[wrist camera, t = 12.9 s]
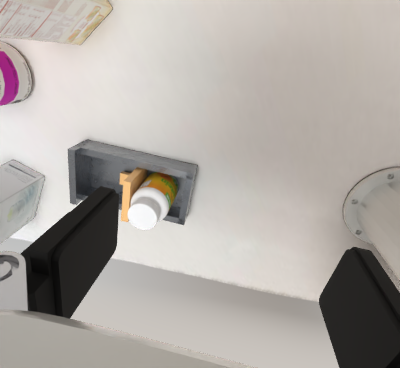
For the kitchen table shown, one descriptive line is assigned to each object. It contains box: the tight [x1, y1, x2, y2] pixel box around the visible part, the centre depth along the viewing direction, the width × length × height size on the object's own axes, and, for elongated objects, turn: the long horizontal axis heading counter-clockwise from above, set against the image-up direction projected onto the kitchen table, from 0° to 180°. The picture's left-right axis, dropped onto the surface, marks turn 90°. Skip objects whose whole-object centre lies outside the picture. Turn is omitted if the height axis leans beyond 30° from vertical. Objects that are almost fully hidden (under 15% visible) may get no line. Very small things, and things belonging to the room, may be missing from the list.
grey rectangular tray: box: [68, 140, 198, 225], centre depth 40 cm, size 18×9×5 cm, turn 79°
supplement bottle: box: [127, 172, 179, 230], centre depth 37 cm, size 5×5×10 cm
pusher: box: [120, 167, 147, 222], centre depth 38 cm, size 4×6×7 cm, turn 169°
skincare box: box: [0, 160, 45, 244], centre depth 42 cm, size 10×6×10 cm, turn 152°
